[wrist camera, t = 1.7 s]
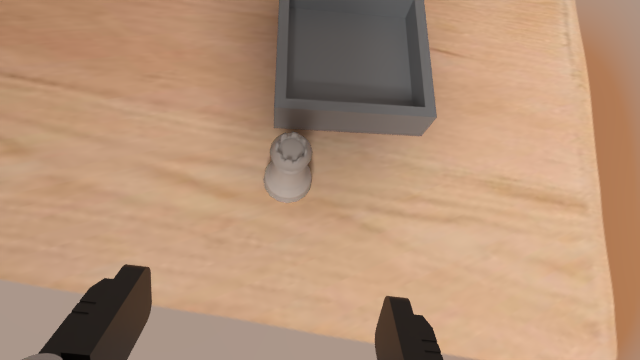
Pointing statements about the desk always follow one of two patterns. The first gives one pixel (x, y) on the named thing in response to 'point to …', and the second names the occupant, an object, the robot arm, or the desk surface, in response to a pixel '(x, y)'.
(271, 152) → the rook chess piece
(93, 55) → the desk surface
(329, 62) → the tray
